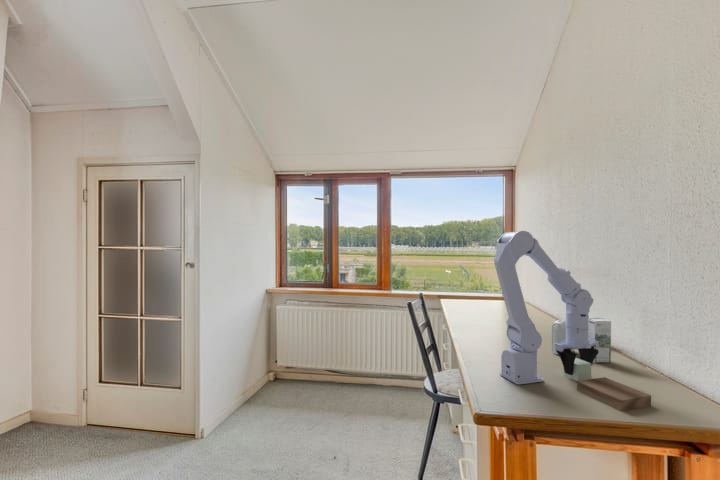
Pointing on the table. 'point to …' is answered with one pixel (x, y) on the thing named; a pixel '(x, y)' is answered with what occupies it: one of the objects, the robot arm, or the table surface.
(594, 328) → the syrup box
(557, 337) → the photo printer
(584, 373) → the sage cube
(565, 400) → the table surface
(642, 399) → the walnut block
